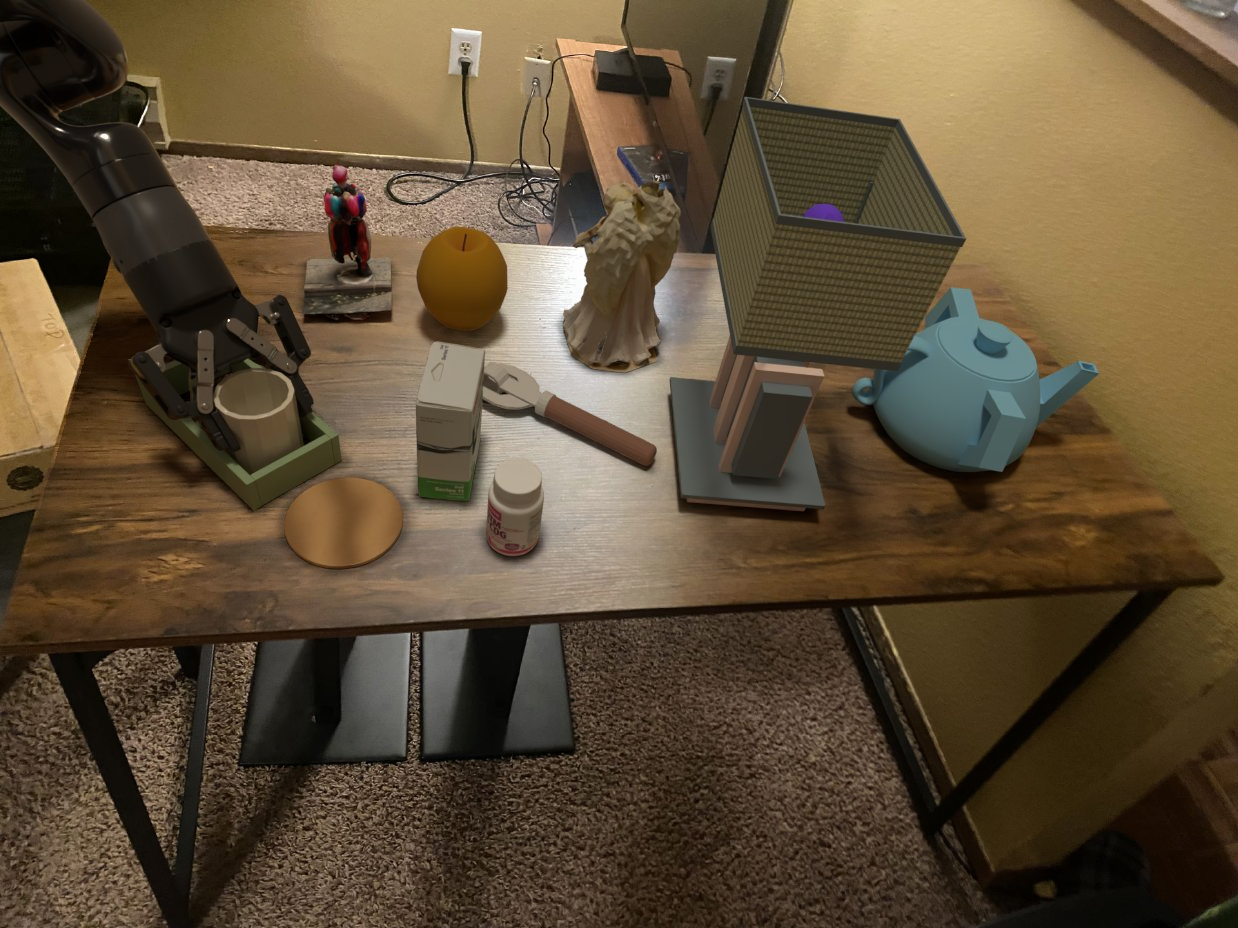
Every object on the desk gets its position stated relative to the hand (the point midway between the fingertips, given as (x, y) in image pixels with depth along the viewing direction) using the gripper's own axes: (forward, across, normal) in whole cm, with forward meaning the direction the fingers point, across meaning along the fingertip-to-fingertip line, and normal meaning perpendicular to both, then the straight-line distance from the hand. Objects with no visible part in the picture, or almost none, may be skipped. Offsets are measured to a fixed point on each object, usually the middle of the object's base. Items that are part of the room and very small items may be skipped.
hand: (271, 432), depth 74 cm
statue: (-9, +21, +16) cm, 28 cm away
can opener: (+12, +25, -6) cm, 28 cm away
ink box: (+10, +12, -4) cm, 16 cm away
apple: (-1, +27, +7) cm, 28 cm away
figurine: (+8, +38, -2) cm, 39 cm away
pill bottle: (+18, +10, -11) cm, 23 cm away
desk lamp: (+23, +35, -17) cm, 45 cm away
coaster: (+10, 0, -3) cm, 10 cm away
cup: (+2, 0, +4) cm, 5 cm away
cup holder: (-1, 0, +7) cm, 7 cm away
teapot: (+33, +58, -26) cm, 71 cm away
